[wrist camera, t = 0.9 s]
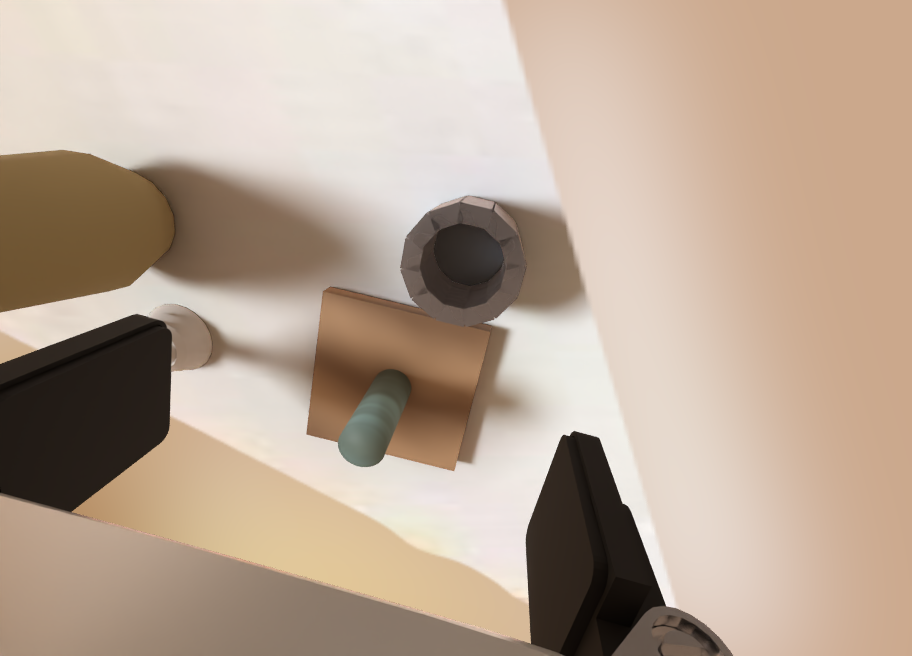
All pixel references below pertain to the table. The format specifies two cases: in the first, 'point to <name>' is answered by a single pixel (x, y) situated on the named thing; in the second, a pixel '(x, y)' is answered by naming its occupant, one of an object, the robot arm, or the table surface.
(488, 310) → the ring
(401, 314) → the post stand
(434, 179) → the table surface
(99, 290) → the squeeze bottle
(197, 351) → the chalice
